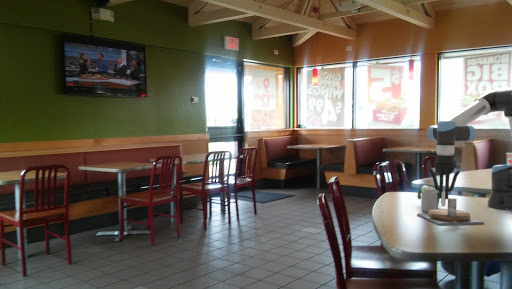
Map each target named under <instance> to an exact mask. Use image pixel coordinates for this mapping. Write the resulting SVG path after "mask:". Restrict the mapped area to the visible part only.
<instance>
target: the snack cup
mask: <svg viewBox="0 0 512 289" xmlns="http://www.w3.org/2000/svg"><path fill="white" fill-rule="evenodd" d="M428 187H429V186H428ZM428 187H426V188H428ZM433 188H434V189H435V187H433ZM422 190H423V188H422V187H421V188H420V189H419V190H418V191H417V200H421V196H422ZM436 191H437V208H439V204H440V202H441V201H442V199H441V200H440V198H439V191H438V190H436Z"/></svg>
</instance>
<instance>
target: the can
mask: <svg viewBox="0 0 512 289" xmlns="http://www.w3.org/2000/svg"><path fill="white" fill-rule="evenodd" d="M434 188H435V187H433V188H423V190H422V195H421V199H420V200H421V203H420V204H421V205H420V206H421V211H422V213H423V212H424V213H428V211H429V210H432V209H438V207H437V191H436V189H434Z"/></svg>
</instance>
